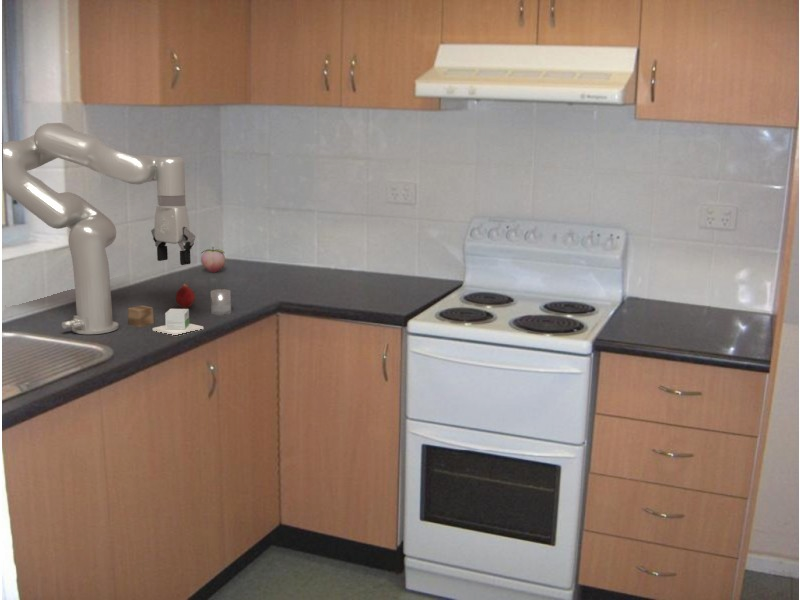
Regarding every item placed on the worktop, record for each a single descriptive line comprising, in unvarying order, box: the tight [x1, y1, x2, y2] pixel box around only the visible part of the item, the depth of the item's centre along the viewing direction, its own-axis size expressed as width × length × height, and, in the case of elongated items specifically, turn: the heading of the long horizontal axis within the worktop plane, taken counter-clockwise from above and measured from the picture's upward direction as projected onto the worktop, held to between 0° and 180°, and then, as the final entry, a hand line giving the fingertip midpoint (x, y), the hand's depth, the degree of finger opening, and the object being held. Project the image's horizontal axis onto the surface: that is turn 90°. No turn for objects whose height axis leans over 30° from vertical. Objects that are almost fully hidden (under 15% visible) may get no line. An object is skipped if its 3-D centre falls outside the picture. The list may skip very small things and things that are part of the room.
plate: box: [152, 322, 204, 336], centre depth 251 cm, size 10×10×1 cm
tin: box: [210, 288, 232, 316], centre depth 271 cm, size 6×6×7 cm
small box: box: [164, 308, 190, 330], centre depth 250 cm, size 6×6×5 cm
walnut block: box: [127, 305, 155, 328], centre depth 257 cm, size 5×5×5 cm
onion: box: [175, 283, 196, 309], centre depth 276 cm, size 6×6×8 cm
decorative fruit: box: [200, 246, 226, 273], centre depth 337 cm, size 9×8×10 cm
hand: (173, 262), depth 247 cm, fingers open, 9 cm apart
